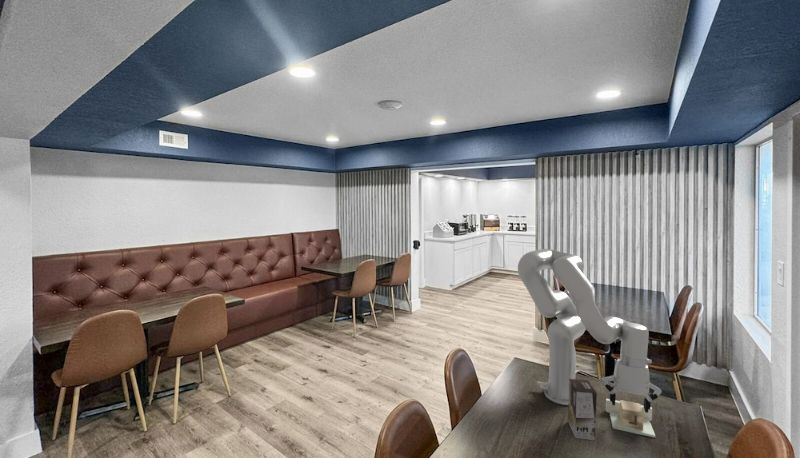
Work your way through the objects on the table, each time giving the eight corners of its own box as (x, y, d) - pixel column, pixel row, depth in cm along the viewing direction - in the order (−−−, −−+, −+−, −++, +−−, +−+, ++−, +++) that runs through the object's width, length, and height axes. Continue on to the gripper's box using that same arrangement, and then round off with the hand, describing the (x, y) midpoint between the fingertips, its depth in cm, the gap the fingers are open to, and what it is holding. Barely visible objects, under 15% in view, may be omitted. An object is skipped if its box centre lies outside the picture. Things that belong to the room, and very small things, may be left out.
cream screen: (606, 411, 130) (606, 400, 129) (605, 410, 131) (606, 398, 131) (651, 421, 124) (652, 408, 124) (650, 419, 125) (651, 407, 125)
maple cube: (639, 420, 124) (640, 403, 123) (643, 430, 118) (643, 413, 117) (619, 415, 126) (620, 399, 126) (622, 425, 120) (622, 409, 120)
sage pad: (612, 428, 120) (613, 426, 120) (609, 413, 129) (609, 411, 129) (655, 437, 116) (655, 435, 115) (648, 421, 124) (649, 419, 124)
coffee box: (596, 440, 115) (597, 393, 113) (574, 438, 116) (576, 391, 114) (587, 423, 123) (588, 379, 122) (567, 421, 125) (568, 377, 123)
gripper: (660, 360, 120) (656, 407, 122) (602, 350, 127) (599, 395, 129) (666, 370, 113) (662, 419, 115) (605, 359, 120) (601, 406, 122)
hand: (629, 406), depth 122 cm, fingers open, 9 cm apart
